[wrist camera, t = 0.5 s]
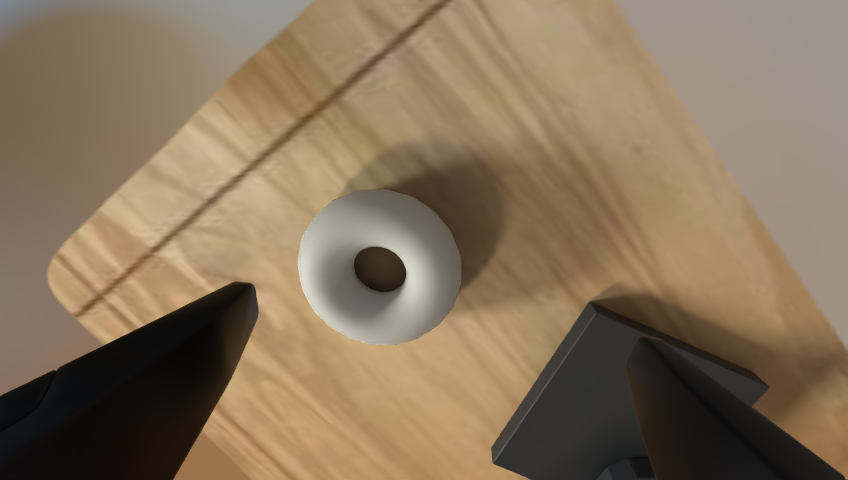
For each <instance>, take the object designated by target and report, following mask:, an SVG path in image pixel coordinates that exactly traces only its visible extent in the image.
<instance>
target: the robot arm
mask: <svg viewBox="0 0 848 480" xmlns="http://www.w3.org/2000/svg"><path fill="white" fill-rule="evenodd" d="M257 318H258V303H257V297H256V290H255V287H254V285H253V284H251V283H246V282H238V281H237V282H233V283H230V284H228V285H226V286H224V287H222V288H220V289H218V290H216V291H214V292H212V293H210V294H208V295H206V296H204V297H202V298H200V299H198V300H196V301H194V302H192V303H190V304H187V305H185V306H183V307H181V308H179V309H177V310H175V311H173V312H171V313H169V314H167V315H165V316H163V317H161V318H159V319H157V320H155V321H153V322H151V323H149V324H147V325H145V326H143V327H141V328H139V329H137V330H134V331H132V332H130V333H128V334H126V335H124V336H122V337H120V338H118V339H116V340H114V341H112V342H110V343H108V344H106V345H104V346H102V347H100V348H98V349H96V350H94V351H92V352H90V353H88V354H86V355H83V356H81V357H79V358H77V359H75V360H73V361H71V362H69V363H67V364H65V365H63V366H61V367H59V368H58V370H57V371H55V370H53V371H51V372H49V373H47V374H45V375H42V376H41V377H38V378H36V379H34V380H32V381H30V382H28V383H26V384H24V385H22V386H20V387H18V388H16V389H14V390H11V391H9V392H7V393H5V394H3V395H1V396H0V480H173V479H174V477H175V476H176V474H177V472H178V471H179V469H180V467H181V465H182V463H183V462H184V460H185V458H186V457H187V455H188V453H189V451H190V449H191V448H192V446H193V444H194V443H195V441H196V439H197V437H198V436H199V434H200V432H201V431H202V429H203V427H204V425H205V424H206V422H207V420H208V418H209V417H210V415H211V413H212V411H213V410H214V408H215V406H216V404H217V403H218V401H219V399H220V397H221V396H222V394H223V392H224V390H225V389H226V387H227V385H228V383H229V381H230V380H231V378H232V375H233V373H234V371H235V369H236V367H237V365H238V362H239V360H240V358H241V355H242V353H243V351H244V349H245V346H246V344H247V342H248V339H249V337H250V335H251V333H252V330H253V328H254V326H255V323H256V321H257ZM625 371H626V376H627V380H628V384H629V388H630V392H631V396H632V401H633V405H634V409H635V413H636V417H637V422H638V425H639V429H640V433H641V436H642V439H643V442H644V445H645V448H646V451H647V454H648V457H649V460H650V463H651V465H652V468H653V471H654V474H655V477H656V480H846V479H845V477H844V476H843V475H842V474H841V473H839V472H838V471H837V470H835V469H834V468H833V467H831V466H830V465H829V464H827V463H826V462H825V461H823V460H822V459H821V458H819V457H818V456H817V455H815V454H814V453H813V452H811V451H810V450H809V449H807V448H806V447H805V446H803V445H802V444H801V443H799V442H798V441H797V440H795V439H794V438H793V437H791V436H790V435H789V434H787V433H786V432H785V431H783V430H782V429H781V428H779V427H778V426H777V425H775V424H774V423H773V422H771V421H770V420H769V419H767V418H766V417H765V416H763V415H762V414H761V413H759V412H758V411H757V410H755V409H754V408H753V407H751V406H750V405H749V404H747V403H746V402H744V401H743V400H742V399H740V398H739V397H738V396H736V395H735V394H734V393H732V392H731V391H730V390H728V389H727V388H726V387H724V386H723V385H722V384H720V383H719V382H718V381H716V380H715V379H714V378H712V377H711V376H710V375H708V374H707V373H706V372H704V371H703V370H702V369H700V368H699V367H698V366H696V365H695V364H694V363H692V362H691V361H690V360H688V359H687V358H686V357H684V356H683V355H682V354H680V353H679V352H678V351H676V350H675V349H674V348H672V347H671V346H670V345H668V344H667V343H666V342H664V341H663V340H662V339H659V338H654V337H646V336H642V337H640V338H639V339H638V340H637V341H636V343H635V345H634V347H633V349H632V350H631V352H630V354H629V356H628V358H627V360H626V363H625Z"/></svg>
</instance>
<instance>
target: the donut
mask: <svg viewBox="0 0 848 480" xmlns="http://www.w3.org/2000/svg"><path fill="white" fill-rule="evenodd" d="M368 247H383V248H386V249H389V250H391V251H392V252H394V253H396V254H397V255H398V256H399V257H400V259H401V260H402V261H403V263H404V265H405V268H406V273H407V275H406V278H405V282H404V283H403V285H402V286H400V287H399V288H397V289H396V290H393V291H390V292H379V291H375V290H372V289H370V288H369V287H367V286H365V285H364V284H363V283H362V282H361V281H360V280H359V279H358V277H357V275H356V273H355V269H354V260H355V258H356V256H357V254H358V253H359V252H360V251H361V250H363V249H365V248H368ZM298 269H299V274H300V280H301V285H302V290H303V292H304V294H305V295H306V297H307V299H308V301H309V303H310V305H311V307H312V309H313V310H314V311H315V312H316V313H317V314H318V315H319V316H320V317H321V318H322V319H323V320H324V322H325V323H326V324H327V325H328V326H329V327H331V328H333V329H334V330H336V331H338V332H339V333H341V334H343V335H345V336H346V337H348V338H350V339H353V340H357V341H360V342H364V343H368V344H371V345H397V344H400V343H404V342H407V341H411V340H414V339H417V338H419V337H421V336H423V335H424V334H426V333H427V332H429V331H430V330H432V329H433V328H435V327H436V326H438V325H439V324H440V323H441V321H442V320H443V319H444V318H445V316H446V315H447V314H448V312H449V311H450V310H451V309H452V307H453V305H454V303H455V300H456V297H457V294H458V290H459V287H460V284H461V281H462V278H461V256H460V253H459V251H458V248H457V245H456V243H455V240H454V238H453V235H452V232H451V231H450V229H449V228H448V227H447V226H446V224H445V223H444V222H443V221H442V220H441V218H440V217H439V216H438V215H437V213H436V212H435V211H434V210H432V209H431V208H429V207H428V206H426V205H425V204H423V203H421V202H420V201H418V200H417V199H415V198H414V197H412V196H409V195H405V194H402V193H398V192H394V191H391V190H387V189H380V190H359V191H356V192H353V193H350V194H348V195H345V196H343V197H340V198H337V199H335V200H333V201H332V202H331V203H329V204H328V205H327V206H326V207H325V208H324V209H322V210H321V211H320V212H319V213H318V214H317V215H316V216H314V218H313V220H312V221H311V223H310V225H309V227H308V229H307V230H306V232H305V234H304V236H303V238H302V240H301V244H300V251H299V257H298Z"/></svg>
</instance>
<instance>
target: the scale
mask: <svg viewBox="0 0 848 480" xmlns="http://www.w3.org/2000/svg"><path fill="white" fill-rule="evenodd" d="M642 336H646V337H654V338H659V339H662V340H663V341H664V342H666V343H667V344H668V345H670V346H671V347H672V348H674V349H675V350H676V351H678V352H679V353H680V354H682V355H683V356H684V357H686V358H687V359H688V360H690V361H691V362H692V363H694V364H695V365H696V366H698V367H699V368H700V369H702V370H703V371H704V372H706V373H707V374H708V375H710V376H711V377H712V378H714V379H715V380H716V381H718V382H719V383H720V384H722V385H723V386H724V387H726V388H727V389H728V390H730V391H731V392H732V393H734V394H735V395H736V396H738V397H739V398H740V399H742V400H743V401H744V402H746V403H747V404H749V405H750V406H752V405H753V404H754V403H755V402H756V401H757V400H758V399H759V398H760V397H761V396H762V395H763V394H764V393H765V392H766V391H767V390H768V389H769V386H768V385H767V384H766V383H765V382H764V381H762V380H761V379H760V378H759V377H758V376H757V375H756V374H755V373H753V372H751V371H749V370H746V369H744V368H742V367H739V366H737V365H735V364H733V363H730V362H728V361H726V360H723V359H721V358H719V357H716V356H714V355H712V354H709V353H707V352H705V351H703V350H700V349H698V348H696V347H693V346H691V345H689V344H686V343H684V342H682V341H680V340H677V339H675V338H673V337H670V336H668V335H666V334H663V333H661V332H659V331H657V330H654V329H652V328H650V327H647V326H645V325H643V324H640V323H638V322H636V321H633V320H631V319H629V318H627V317H624V316H622V315H620V314H617V313H615V312H613V311H610V310H608V309H606V308H604V307H601V306H599V305H597V304H594V303H592V302H589V303H588V304H587V306H586V307H585V309H584V310H583V312H582V313H581V315H580V316H579V318H578V319H577V321H576V322H575V324H574V325H573V327H572V328H571V330H570V331H569V333H568V334H567V336H566V337H565V339H564V340H563V342H562V343H561V345H560V346H559V348H558V349H557V350H556V352H555V353H554V355H553V356H552V358H551V359H550V361H549V362H548V364H547V365H546V367H545V368H544V370H543V371H542V373H541V374H540V376H539V377H538V379H537V380H536V382H535V383H534V385H533V386H532V388H531V389H530V391H529V392H528V394H527V395H526V397H525V398H524V400H523V401H522V403H521V404H520V406H519V407H518V409H517V410H516V412H515V413H514V415H513V416H512V418H511V419H510V421H509V422H508V424H507V425H506V427H505V428H504V430H503V431H502V433H501V434H500V436H499V437H498V439H497V440H496V442H495V443H494V445H493V446H492V448H491V450H492V461H493V464H495V465H498V466H500V467H502V468H505V469H507V470H510V471H512V472H515V473H517V474H520V475H522V476H525V477H527V478H529V479H532V480H656V477H655V474H654V471H653V468H652V465H651V463H650V460H649V457H648V454H647V451H646V448H645V445H644V442H643V439H642V436H641V433H640V429H639V425H638V422H637V417H636V413H635V409H634V405H633V401H632V396H631V392H630V388H629V384H628V380H627V376H626V371H625V363H626V360H627V358H628V356H629V354H630V352H631V350H632V349H633V347H634V345H635V343H636V341H637V340H638V339H639V338H640V337H642Z"/></svg>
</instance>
